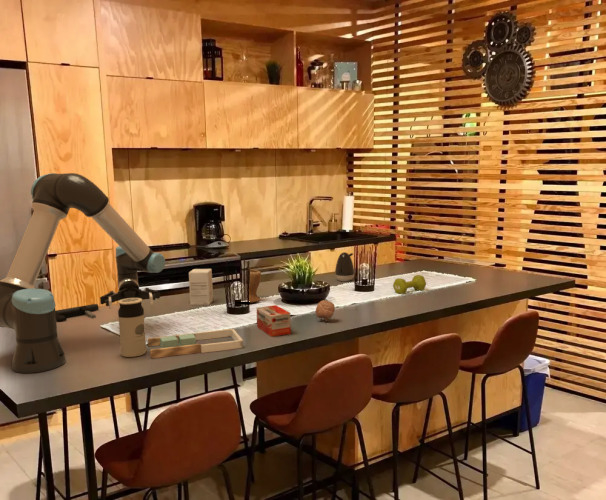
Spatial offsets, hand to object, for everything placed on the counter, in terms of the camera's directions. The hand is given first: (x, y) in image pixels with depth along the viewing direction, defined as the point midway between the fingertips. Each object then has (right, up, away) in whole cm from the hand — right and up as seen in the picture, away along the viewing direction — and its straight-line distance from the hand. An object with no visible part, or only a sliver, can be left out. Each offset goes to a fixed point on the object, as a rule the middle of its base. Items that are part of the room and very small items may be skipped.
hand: (131, 302), depth 192 cm
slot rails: (+15, -15, -3) cm, 22 cm away
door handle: (-35, -11, +44) cm, 58 cm away
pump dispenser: (+81, +1, +108) cm, 135 cm away
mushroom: (+68, -10, +27) cm, 74 cm away
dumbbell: (+110, -2, +77) cm, 134 cm away
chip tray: (+29, -14, +1) cm, 33 cm away
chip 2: (+20, -15, -2) cm, 25 cm away
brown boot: (+33, -6, +65) cm, 73 cm away
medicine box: (+48, -12, +16) cm, 52 cm away
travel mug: (+3, -16, -8) cm, 18 cm away
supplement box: (+13, -6, +64) cm, 65 cm away
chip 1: (+14, -16, -4) cm, 21 cm away
